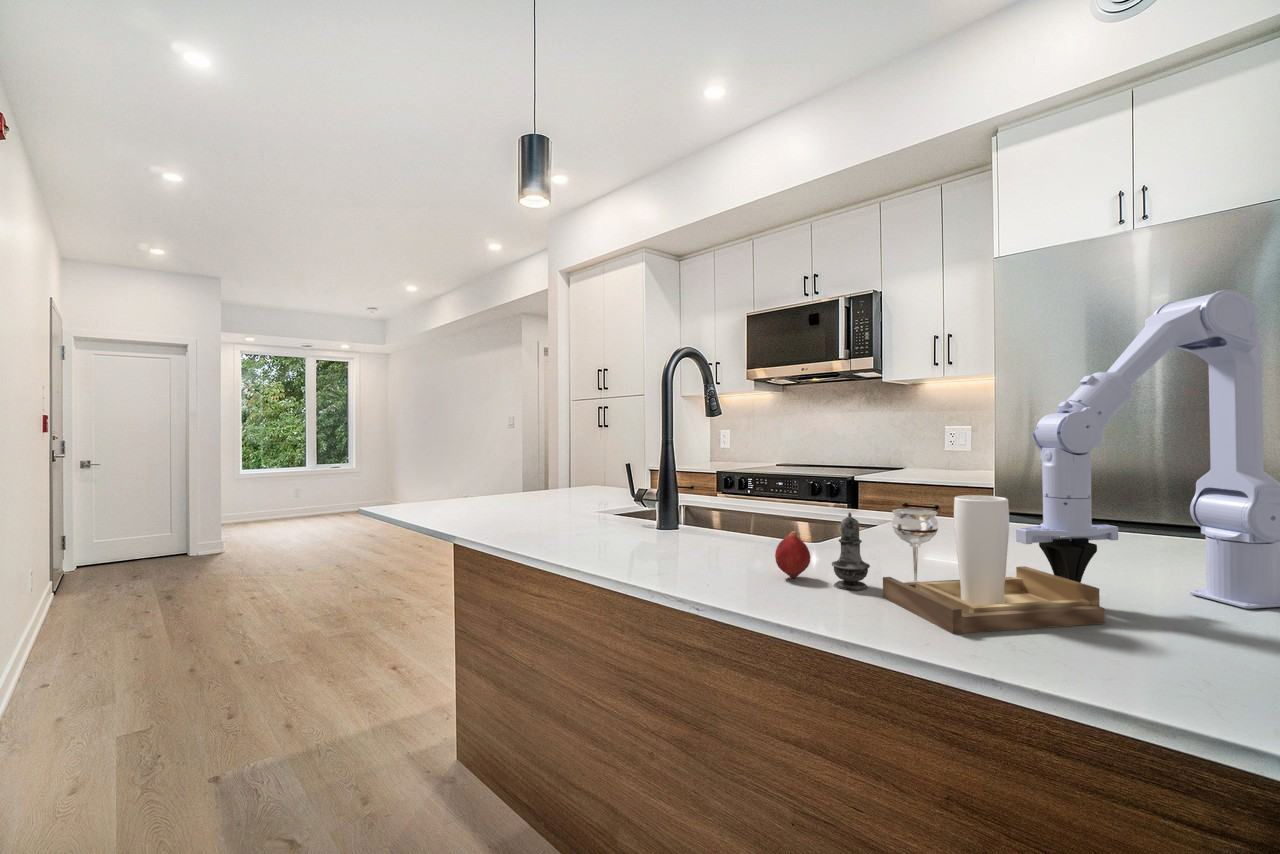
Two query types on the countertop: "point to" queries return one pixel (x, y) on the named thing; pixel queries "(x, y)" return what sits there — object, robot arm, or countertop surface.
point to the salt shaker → (850, 558)
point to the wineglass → (915, 529)
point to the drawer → (1021, 593)
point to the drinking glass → (982, 547)
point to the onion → (792, 555)
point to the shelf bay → (985, 621)
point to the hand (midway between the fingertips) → (1067, 592)
